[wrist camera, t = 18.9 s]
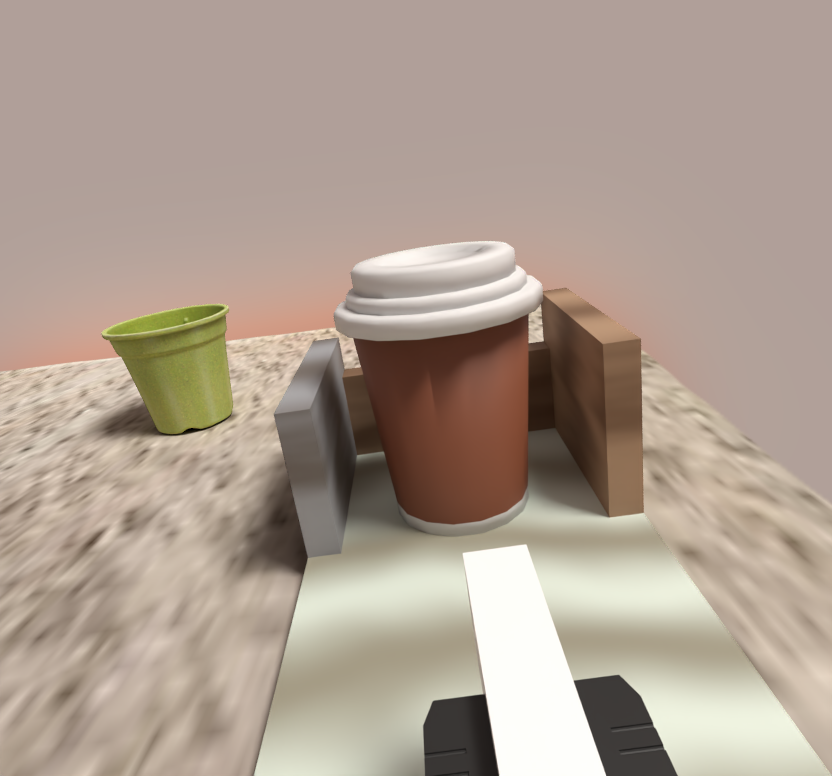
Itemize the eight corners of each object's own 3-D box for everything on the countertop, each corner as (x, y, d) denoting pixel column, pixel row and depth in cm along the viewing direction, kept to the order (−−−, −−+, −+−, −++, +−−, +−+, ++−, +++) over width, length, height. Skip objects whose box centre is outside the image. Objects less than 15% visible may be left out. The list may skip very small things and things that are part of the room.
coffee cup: (349, 556, 26) (292, 287, 22) (393, 460, 35) (357, 252, 31) (561, 554, 24) (540, 259, 21) (554, 452, 33) (537, 229, 29)
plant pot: (110, 438, 48) (75, 334, 45) (202, 395, 56) (176, 304, 53) (188, 451, 43) (153, 335, 40) (276, 402, 51) (252, 301, 48)
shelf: (848, 834, 14) (895, 511, 11) (237, 906, 15) (129, 613, 12) (574, 429, 38) (566, 287, 35) (338, 462, 38) (309, 324, 35)
